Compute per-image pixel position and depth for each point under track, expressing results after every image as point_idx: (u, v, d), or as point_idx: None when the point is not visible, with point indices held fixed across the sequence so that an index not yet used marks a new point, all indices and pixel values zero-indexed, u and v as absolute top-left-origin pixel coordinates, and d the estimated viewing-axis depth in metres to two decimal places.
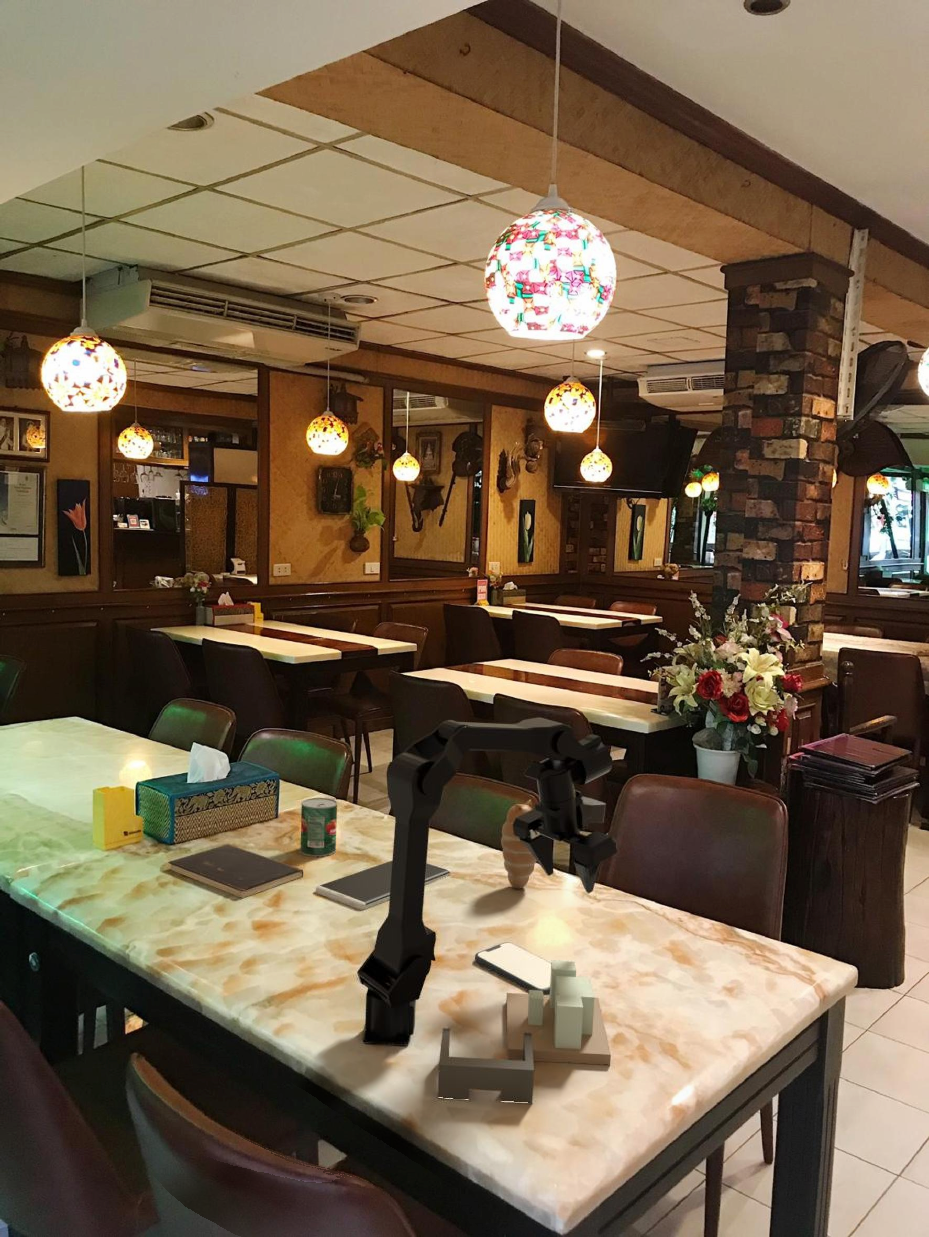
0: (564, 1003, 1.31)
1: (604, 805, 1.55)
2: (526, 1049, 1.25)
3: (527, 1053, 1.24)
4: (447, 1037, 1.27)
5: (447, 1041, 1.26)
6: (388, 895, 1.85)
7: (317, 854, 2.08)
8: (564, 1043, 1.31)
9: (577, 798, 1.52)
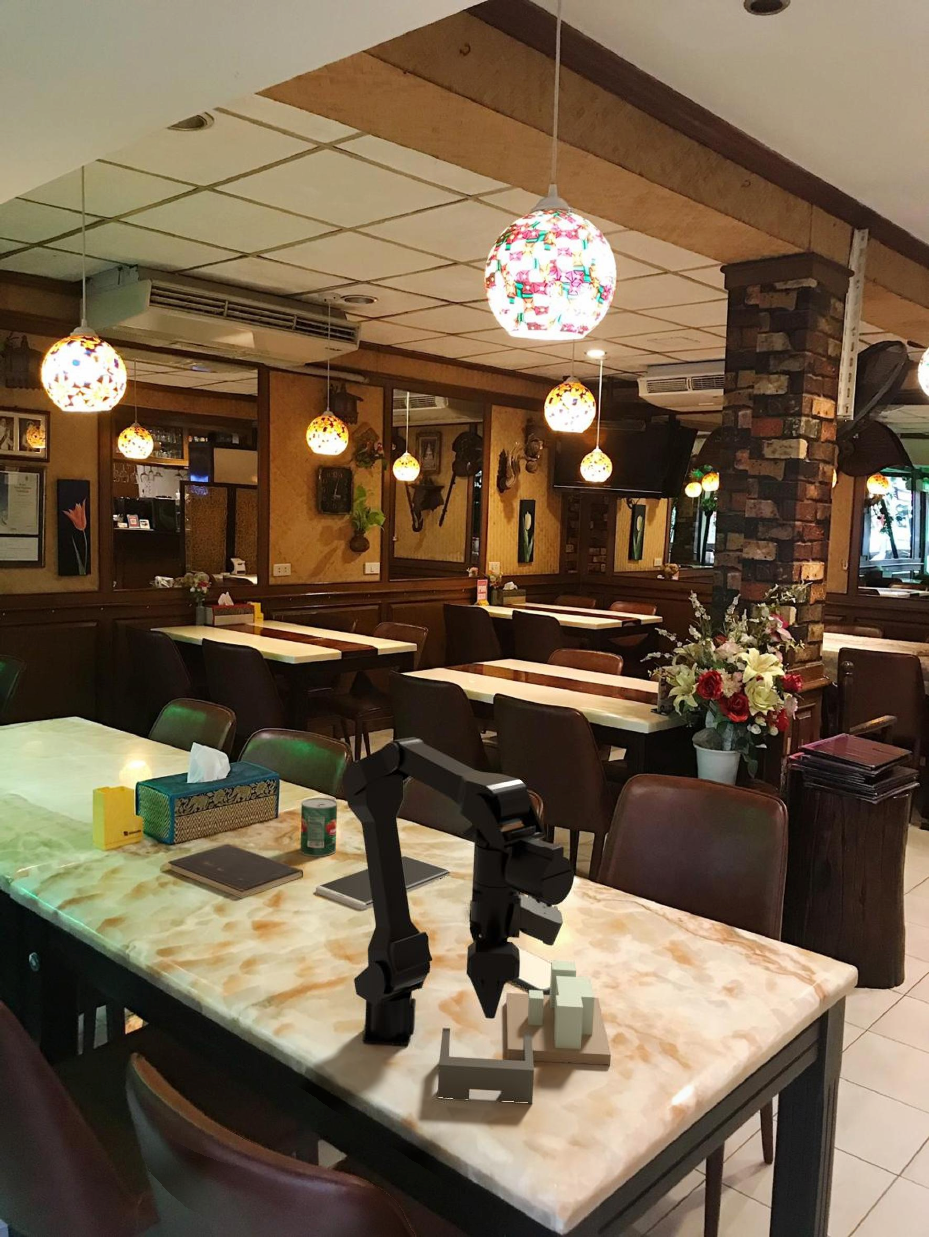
0: (564, 1003, 1.31)
1: (556, 923, 1.17)
2: (526, 1049, 1.25)
3: (527, 1053, 1.24)
4: (447, 1037, 1.27)
5: (447, 1041, 1.26)
6: None
7: (317, 854, 2.08)
8: (564, 1043, 1.31)
9: (514, 894, 1.17)
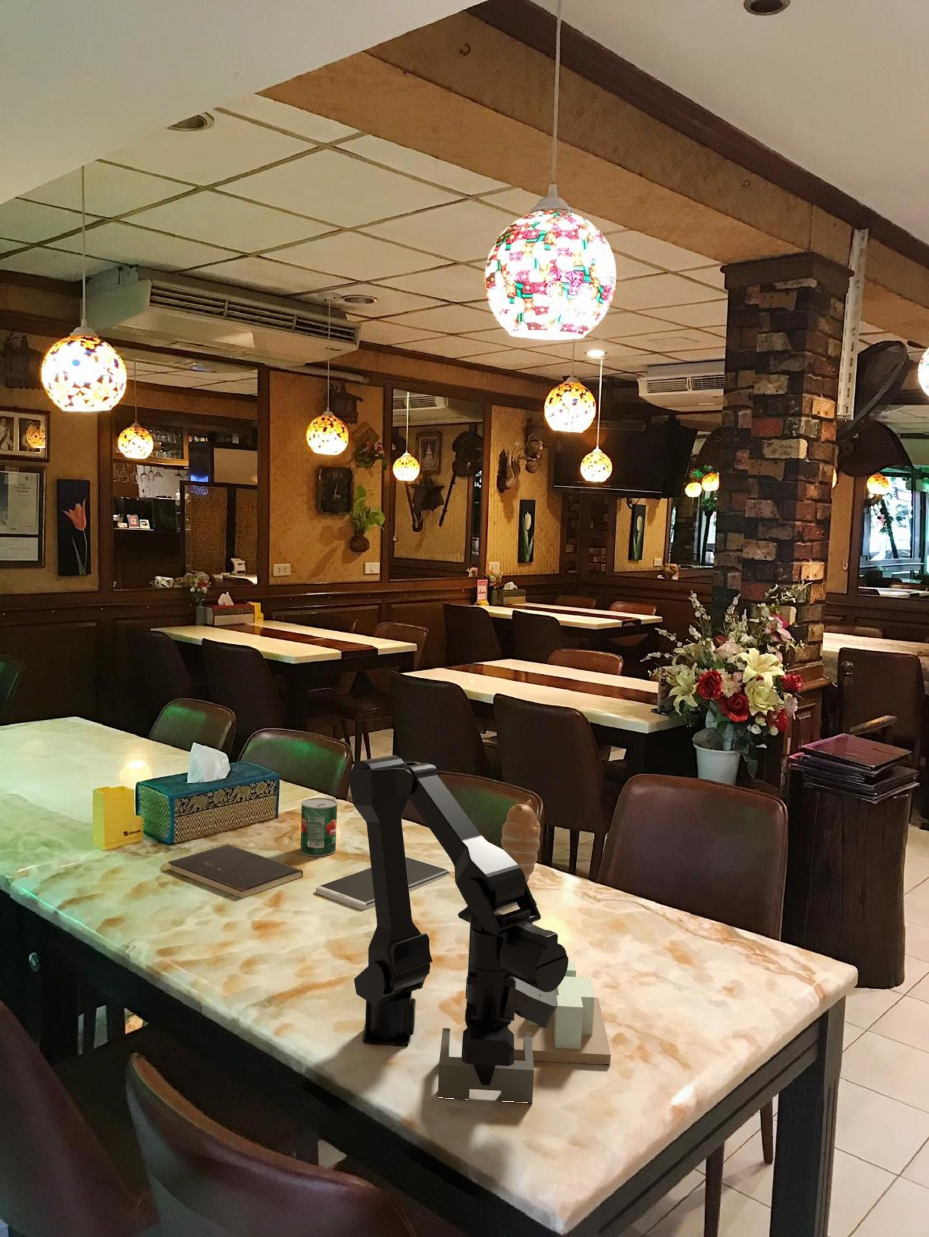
0: (564, 1003, 1.31)
1: (551, 1006, 1.18)
2: (526, 1049, 1.25)
3: (527, 1053, 1.24)
4: (447, 1037, 1.27)
5: (447, 1041, 1.26)
6: None
7: (317, 854, 2.08)
8: (564, 1043, 1.31)
9: (509, 977, 1.18)
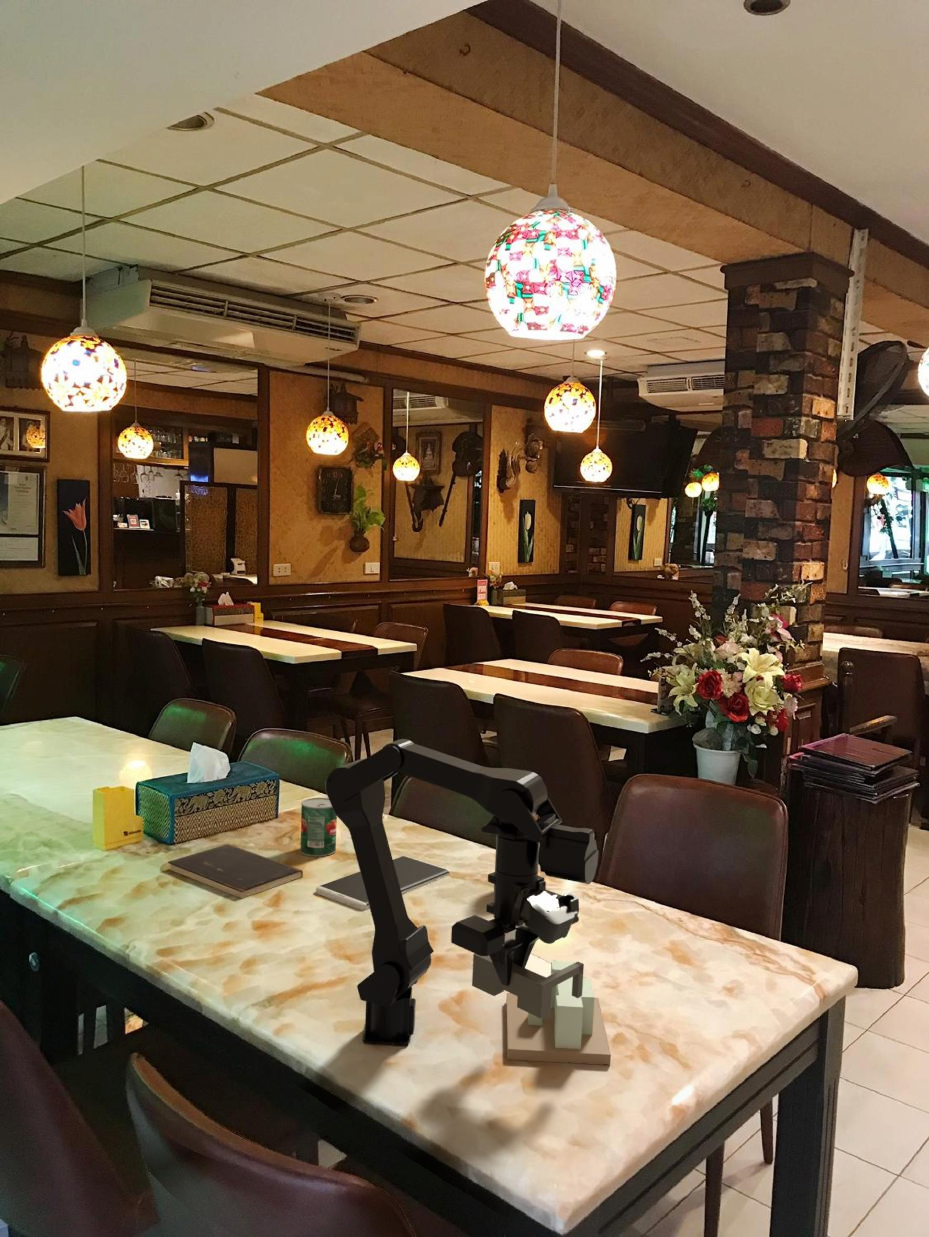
0: (564, 1003, 1.31)
1: (549, 922, 1.19)
2: (560, 971, 1.26)
3: (555, 974, 1.26)
4: None
5: None
6: None
7: (317, 854, 2.08)
8: (564, 1043, 1.31)
9: (520, 884, 1.23)
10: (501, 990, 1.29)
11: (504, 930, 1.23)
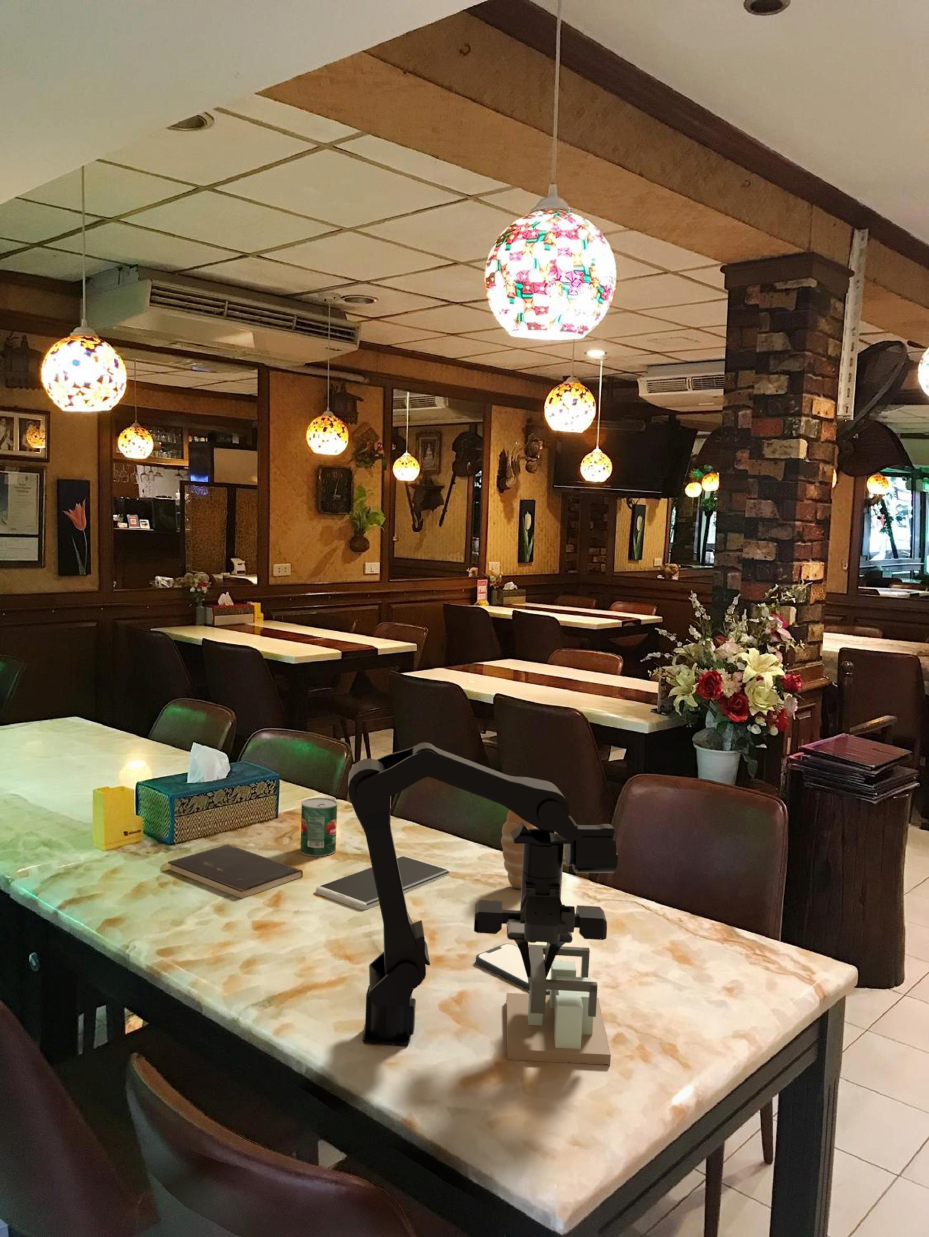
0: (564, 1003, 1.31)
1: (525, 921, 1.29)
2: (566, 980, 1.32)
3: (558, 980, 1.32)
4: (573, 949, 1.42)
5: (567, 948, 1.42)
6: None
7: (317, 854, 2.08)
8: (564, 1043, 1.31)
9: (528, 883, 1.34)
10: None
11: (512, 920, 1.35)
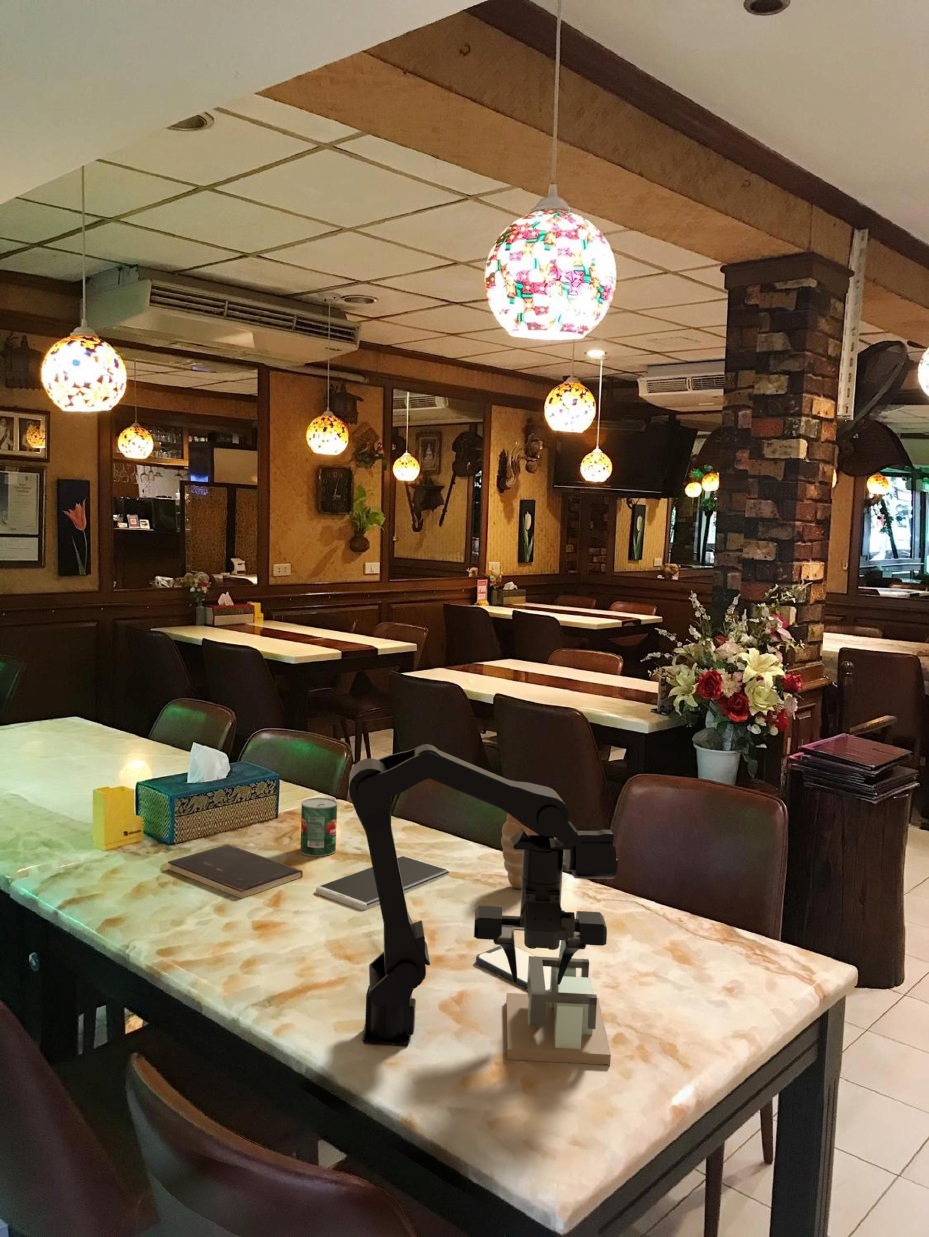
0: (564, 1003, 1.31)
1: (525, 927, 1.29)
2: (565, 993, 1.32)
3: (558, 993, 1.32)
4: (573, 960, 1.43)
5: None
6: None
7: (317, 854, 2.08)
8: (564, 1043, 1.31)
9: (528, 889, 1.34)
10: None
11: None
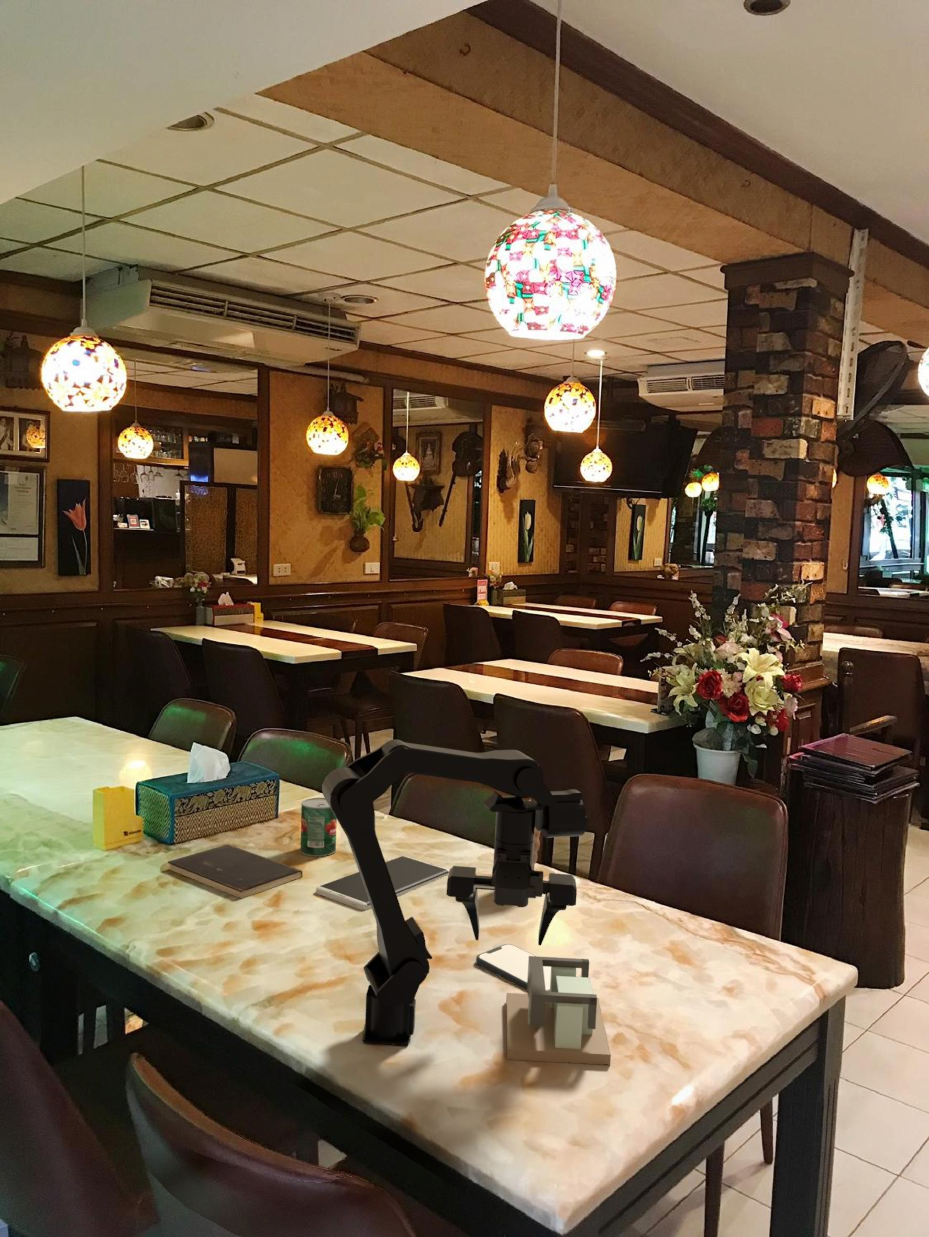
0: (564, 1003, 1.31)
1: (494, 884, 1.32)
2: (565, 993, 1.32)
3: (558, 993, 1.32)
4: (573, 960, 1.43)
5: (566, 960, 1.43)
6: None
7: (317, 854, 2.08)
8: (564, 1043, 1.31)
9: (499, 849, 1.37)
10: None
11: None
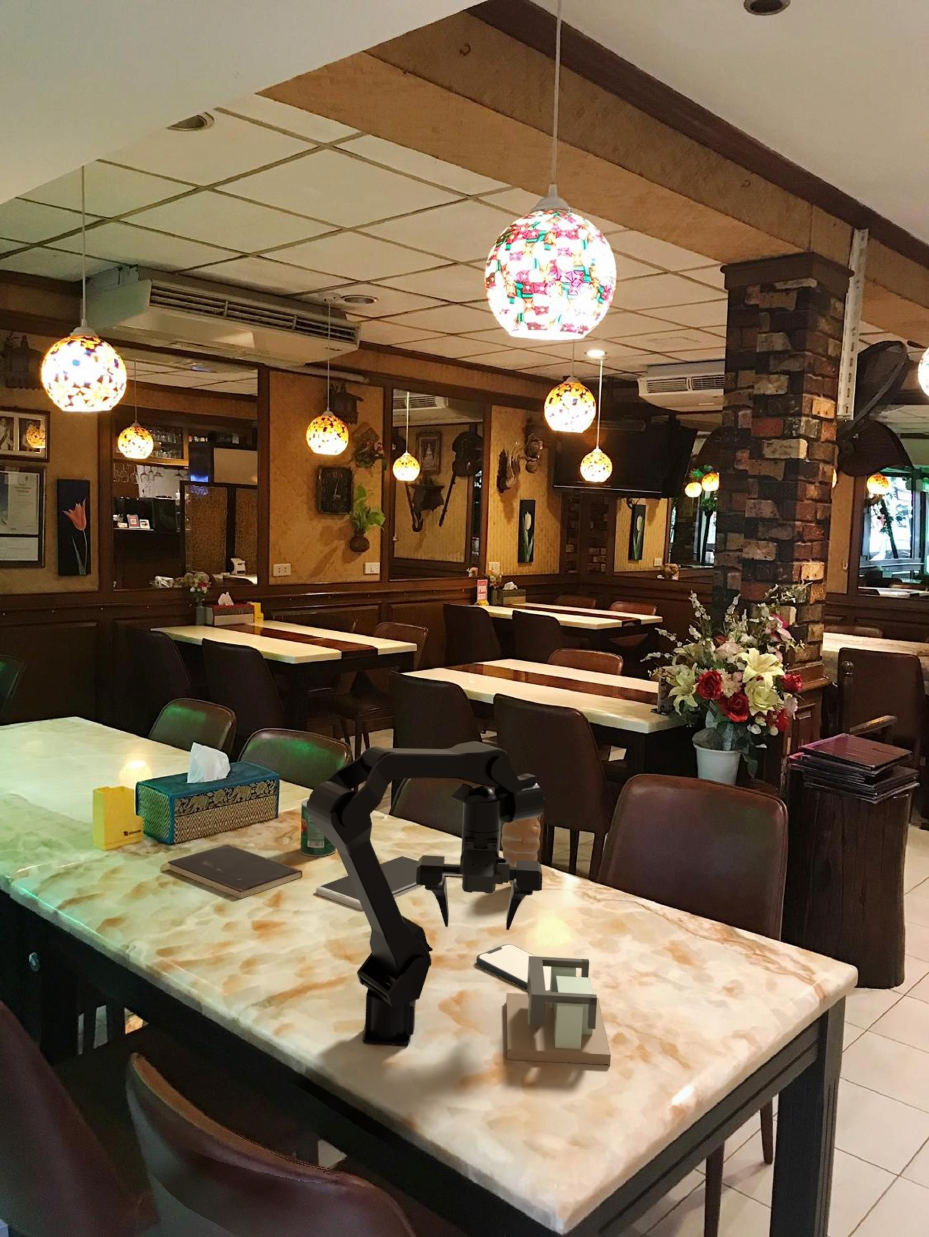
0: (564, 1003, 1.31)
1: (462, 872, 1.36)
2: (565, 993, 1.32)
3: (558, 993, 1.32)
4: (573, 960, 1.43)
5: (566, 960, 1.43)
6: None
7: (317, 854, 2.08)
8: (564, 1043, 1.31)
9: (467, 838, 1.41)
10: None
11: None
